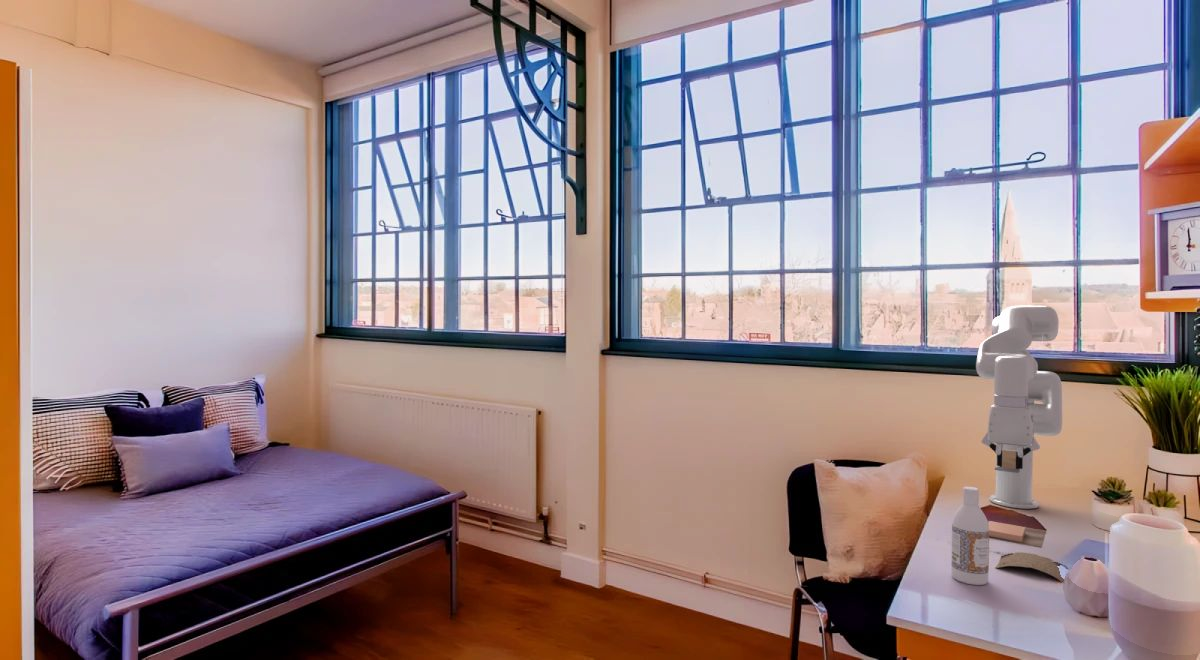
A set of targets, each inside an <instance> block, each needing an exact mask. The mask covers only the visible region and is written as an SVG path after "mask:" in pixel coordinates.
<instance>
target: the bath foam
mask: <svg viewBox="0 0 1200 660" xmlns="http://www.w3.org/2000/svg"><path fill="white" fill-rule="evenodd" d="M979 492H980V490H979V488H977V487H975V486H963V489H962V493H963V494H962V502H963V503H962V504H961V506H959V508H958V509H957V510H956V511H955V513H954V515H953V518H952V521H951V522H952V523H951V563H950V564H951V576H952V578H954V579H955V580H956V581H958V582H960V583H963V584H968V585H970V586H971V585H972V586H984V585H987V584H988V582H989V571H990V569H989V566H990V565H989V563H990V560H989V559H990V538H989V525H988V521H989V520H988V519H987V517H986V514H985V513H984V511H983V510H982V509H981V507H980V505H979V504H980V503H979V496H980V493H979Z"/></svg>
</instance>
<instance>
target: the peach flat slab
mask: <svg viewBox="0 0 1200 660" xmlns="http://www.w3.org/2000/svg"><path fill="white" fill-rule="evenodd" d="M988 521H989V523H988V525H989V536H990V537H996V538H1001V539H1006V540H1011V541H1017V542H1022V541H1023V538H1024V535H1025V530H1026V526H1021V525H1016V524H1010V523H1009V524H1008V523H1004V522H996V521H993V520H988Z"/></svg>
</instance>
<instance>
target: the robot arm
mask: <svg viewBox="0 0 1200 660" xmlns="http://www.w3.org/2000/svg"><path fill="white" fill-rule="evenodd" d="M1059 324H1060V323H1059V316H1058V313H1057V311H1056V310H1055V309H1054V308H1053V307H1051V306H1048V305H1047V306H1046V305H1014V306H1009V307H1007V308H1005V309H1003V311H1002V312H1001V313H1000V315H998V316H996V317H995V318H994V319H993V320H992V323H991V333H992V335H991V336H990V337H988V338H986V339H985V340H984V341H983V342H982V343H981V344H980V345H979V348H978V351H977V357H976V361H975V370H976V373H977V375H978V376H979V377H980V378H982V379H984V380H993V381H994V382H993V383H994V384H993V385H994V386H993V387H994V388H993V390H994V391H993V404H992V405H991V406H990V409H989V415H988V423H987V432H986V434H985V435H984V437H983V438H982V440H981V443H982V444H983V445H984V446H986V447H989V448H990V449H991V450H992V451H993V452H994V453H995V467H1002V450H1014V451H1018V454H1017V457H1016V469H1020V472H1019V473H1013V472H1006V471H998V470H995V493H994V494H991V495H989V501H990V502H992V503H994V504H996V505H999V506H1003V507H1007V508H1013V509H1023V510H1024V509H1026V510H1027V509H1028V510H1030V509H1036V508H1038V507H1039V503H1038V501H1037V500H1034V499H1033V465H1034V464H1033V463H1034V461H1033V459H1034V458H1033V457H1034V451H1037V450H1039V449H1040V447H1041V446H1040V445H1039V443H1038V441H1037V439H1036V437H1035V435H1036V436H1045V437H1054V436H1055V437H1056V436H1058V435H1060V434H1061V432H1062V428H1063V387H1062V380H1061V378H1060V376H1059V375H1058V374H1057V373H1055V372H1053V371H1049V370H1048V371H1046V370H1038V369H1039V366H1038V365H1039V363H1038V361H1037V360H1036V359H1035V358H1034V357H1033V355H1032V354H1031V352H1030V351H1028V350H1027V349H1028V348H1029V347H1030V346H1031V345H1032V342H1052V341H1054V340H1055V339H1056V337H1057V336H1058V334H1059ZM1035 402H1041V403H1035Z"/></svg>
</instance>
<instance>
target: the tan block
mask: <svg viewBox="0 0 1200 660" xmlns="http://www.w3.org/2000/svg"><path fill="white" fill-rule="evenodd" d="M1017 454H1018V451H1014V450H1002V467H996V466H995V467H994V471H996V470H998V471H1006V472H1013V473H1019V472H1020V469H1016V457H1017Z"/></svg>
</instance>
